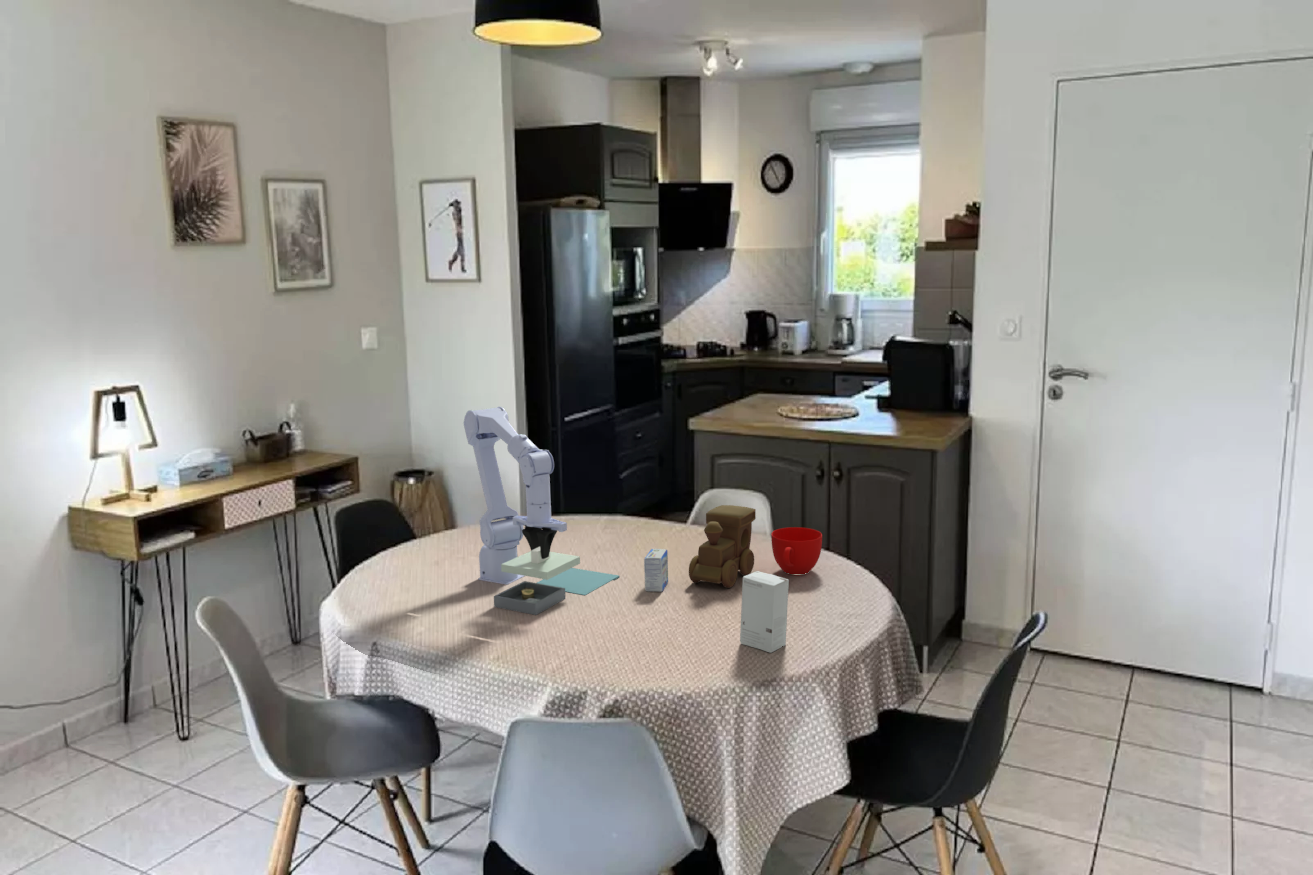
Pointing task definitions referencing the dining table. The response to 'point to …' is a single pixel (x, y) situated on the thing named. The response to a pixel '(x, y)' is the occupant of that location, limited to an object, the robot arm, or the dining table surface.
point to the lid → (540, 564)
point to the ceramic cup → (796, 549)
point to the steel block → (532, 600)
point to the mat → (579, 580)
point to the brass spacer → (527, 593)
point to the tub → (543, 593)
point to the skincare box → (764, 611)
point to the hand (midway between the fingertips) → (540, 556)
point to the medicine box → (656, 570)
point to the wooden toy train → (725, 546)
